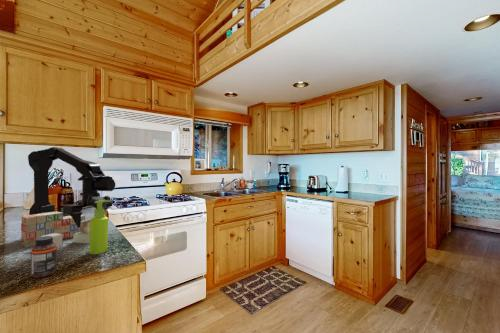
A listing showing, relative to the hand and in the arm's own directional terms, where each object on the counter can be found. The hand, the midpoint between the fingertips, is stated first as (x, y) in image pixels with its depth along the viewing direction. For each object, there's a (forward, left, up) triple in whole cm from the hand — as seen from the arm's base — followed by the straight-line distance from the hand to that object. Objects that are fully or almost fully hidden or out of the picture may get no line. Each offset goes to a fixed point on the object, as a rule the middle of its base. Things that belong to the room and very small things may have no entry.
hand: (89, 225), depth 104 cm
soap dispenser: (+17, -8, -7) cm, 20 cm away
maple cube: (0, 0, -3) cm, 3 cm away
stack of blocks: (-15, -5, -7) cm, 17 cm away
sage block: (0, 0, -7) cm, 7 cm away
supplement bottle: (+19, -28, -7) cm, 34 cm away
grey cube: (-5, -12, -7) cm, 15 cm away
